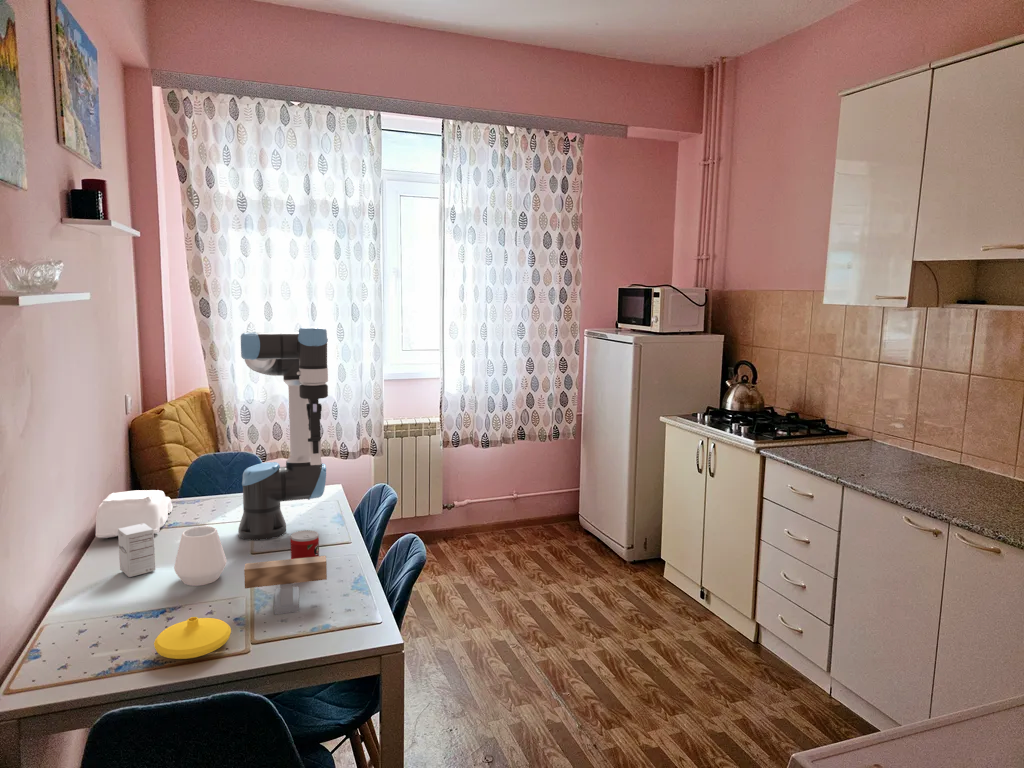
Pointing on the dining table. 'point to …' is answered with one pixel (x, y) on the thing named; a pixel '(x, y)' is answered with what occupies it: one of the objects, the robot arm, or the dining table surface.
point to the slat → (285, 571)
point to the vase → (192, 638)
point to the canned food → (304, 544)
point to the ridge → (286, 599)
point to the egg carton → (132, 511)
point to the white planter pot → (200, 556)
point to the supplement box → (136, 549)
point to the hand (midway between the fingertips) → (314, 458)
